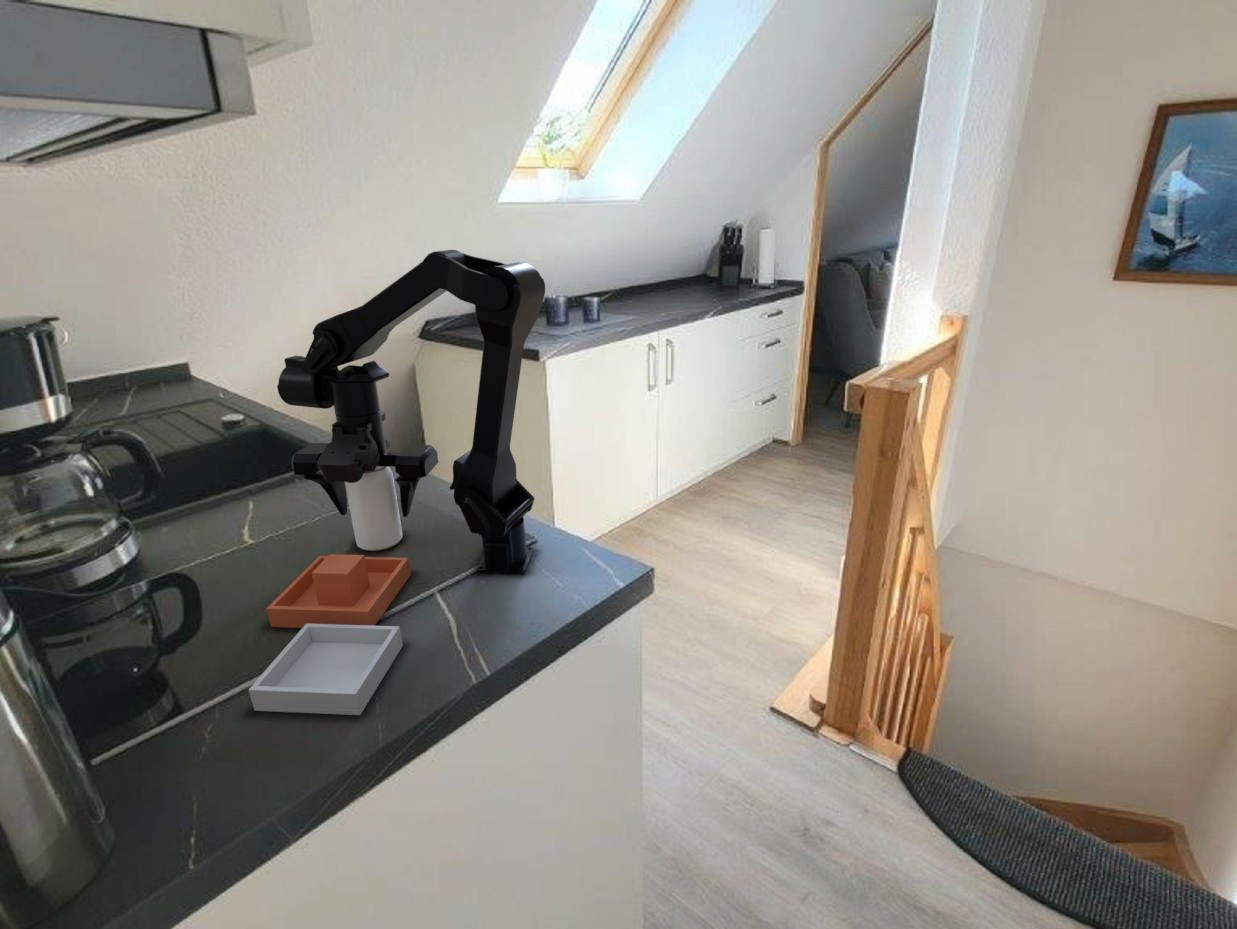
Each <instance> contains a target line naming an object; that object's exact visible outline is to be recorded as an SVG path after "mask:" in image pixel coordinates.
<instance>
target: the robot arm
mask: <svg viewBox="0 0 1237 929" xmlns="http://www.w3.org/2000/svg"><path fill="white" fill-rule="evenodd" d="M446 292H448V293H449V294H451V295H452V296H454V297H455V298H457V299H458V300H460V301H463V302H465V303H467V304H471V305H474V312H475V313H474V314H475V320H476V322H477V325H478V328H479V331H480V333H481V336H482V340H483V346H482V354H481V365H480V373H479V383H478V392H477V400H476V409H475V418H474V426H473V427H474V428H473V435H472V436H473V438H472V446H471V449H470V450H468V451H467V452H465V453H464V454H462V455H461V456H459V457H458V458H456V459H455V460H454V461H453V465H452V481H451V484H450V486H449V490H451V491H453V499H454V503H455V505H456V506H458V507H459V509H460V511H461V513H462V515H463V518H464V520H465V523H466V524H467V528H468V529H469V531H470V533H472V534H476V535H479V536H480V537H481V539H482V549H483V556H482V558H481V559H480V561H479V563H478V565H477V567H476V572H477V573H479V574H480V573H481V574H514V575H515V574H521V575H522V574H525V572H526V571H527V569H528V567H529V563H530V561H531V559H532V556H533V555H534V554H533V553H534V547H533V546H527V542H526V531H525V530H526V528H525V517H524V516H525V515H526V514H528V513H529V512H531V511H532V509H533V506H534V502H535V497H534V496H533V494H532V493H531V492H529V491H528V490H527V488H526V487H525V486H524V485H523V484H522V483H521V482H520V481H519V480H518V479H517V463H516V460H515V458H514V456H513V453H512V451H511V442H512V434H513V427H514V419H515V412H516V405H517V404H516V403H517V397H518V390H519V384H520V383H519V382H520V375H521V368H522V362H523V354H524V348H525V343H526V340H527V338H528V337H529V335H530V333H531V332H532V329H533V328H534V326H535V323H537V320H538V318H539V314H540V311H541V309H542V305H543V301H544V299H545V295H546V284H545V279H544V278H543V277H542V275H541V274H540V273H539V271H538V270H537V268H535V267H534V266H533V265H531V264H529V263H527V262H522V261H521V262H520V261H519V262H518V261H517V262H512V263H504V262H502V261H497V260H492V259H487V258H483V257H479V256H473V255H470V254H468V253H467V254H466V253H464V252H461V251H459V250H457V249H445V250H436V251H432V252H430V253H428V254H427V255H426V257H424V259H422V261H421V262H420V263H418V264H417V265H416V266H414V267H413V268H411V269H410V270H409V271H407V272H406V273H404V275H402V276H401V277H398V279H396V280H395V281H394V282H392V283H391V284H390V285H388V286H387V287H386V288H384V289H383V290H381V291H380V292H379V293H377V294H376V295H375V296H373V297H372V298H370V299H369V300H368V301H367V302H365V303H364V304H363V305H360V306H358V307H355V308H353V309H351V310H347V311H344V312H342V313H339V314H335V315H333V316H331V317H328V318H326V319H324V320H322V321H320V322H318V323H316V325H315V326H314V328H313V329H312V335H313V339H312V342H311V344H310V346H309V348H308V351H307V353H306V355H305V356H303V355H294V356H293V355H292V356H288V357H286V358H284V364H285V367H284V368H283V370H282V371H281V373H280V374H279V378H278V384H277V386H276V388H277V392H278V395H279V397H280V399H281V400H282V401H283V402H284V403H285V404H287V405H290V406H293V407H295V406H296V407H304V408H306V407H307V408H313V409H314V408H316V409H324V410H325V409H330V408H332V407H333V409H334V414H335V422H334V423H332V424H331V427H332V428H331V434H332V436H331V441H330V442H310V443H309V444H307V445H306V446H304V447H303V448H301V449H300V450H298V451H296V452H295V453H294V454H293V455H292V458H291V460H290V463H291V468H292V473H293V474H294V475H295V476H303V479H305V480H306V481H312V482H313V483H316V484H318V485H319V486H320V487H321V488H322V489H323V490H324V491H325V492H326V494H327V495H328V497H329V499H330V500H331V502H332V503H333V505H334V506H335V508H336V510H337V511H338V513H339V514H340V515H341V516H345V515H346V514H348V498H347V493H346V487H345V482H348V483H355V482H358V481H359V480H360V479H361V478H362V476H363V473H364V472H365V471H374V470H375V469H376V467H377V466H388V467H389V468H390V467H391V468H393V467H394V470H395V473H396V474H397V475H398V476H397V477H396V478H395V479H394V482H395V483H397V485H398V486H399V495H400V497H399V498H400V508H401V512H402V516H403V518H407V517H408V516H409V514H410V511H411V508H412V504H413V500H414V497H415V494H416V490H417V486H418V484H419V482H420V480H421V479H422V478H425V477H427V476H428V475H429V474H430V472H432V470H433V469H434V468H435V467H436V466H437V465H438V464H439V456H438V451H437V449H435V447H434V445H432V444H408V445H406V446H405V447H404V448H403V449H402V450H401V451H399V452H388V451H387V450H388V449H389V448H390V447H391V444H390V439H386V438H385V432H384V426H383V425H384V424H383V422H385V420H386V419H387V417H386V416H387V415H386V412H385V411H381V406H380V398H379V392H378V386H377V382H379V381H382V380H385V379H387V378H389V377H390V372H389V371H387V369H386V368H384V367H382V366H380V365H379V364H378V362H377V361H376V360H370V361H368V362H365V363H363V364H362V365H354V364H350V365H347V364H349V363H352V362H355V361H359V360H362V359H365V358H368V357H371V356H373V355H374V354H376V353H377V351H378V350H379V349H380V348H381V347H382V346H383V345H384V344H385V343H386V342H387V340H388V338H389V336H390V333H391V332H392V331H393V329H395V327H397V326H398V325H400V324H401V323H402V322H404V321H405V320H407V319H409V318H410V317H411V316H413V315H414V314H416V313H417V312H419V311H420V310H421V309H423V308H424V307H426V306H427V305H429V304H431V303H432V302H433V301H435V300H436V299H437V298H439V297H440V296H442V295H443V294H445V293H446ZM343 365H346V366H344V367H342V368H341V369H339V366H343Z"/></svg>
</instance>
